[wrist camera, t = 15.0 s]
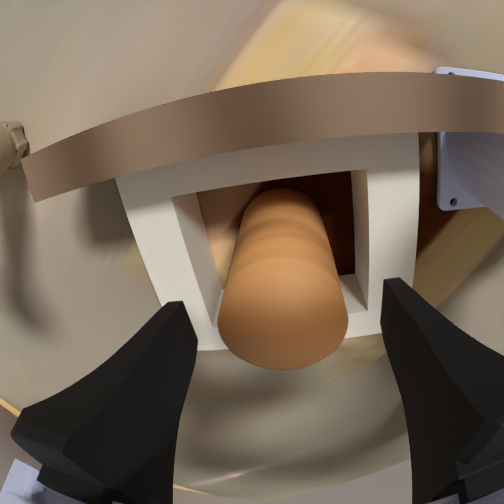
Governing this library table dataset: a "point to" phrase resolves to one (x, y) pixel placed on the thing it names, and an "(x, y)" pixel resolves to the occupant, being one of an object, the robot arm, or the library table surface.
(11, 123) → the handle
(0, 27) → the library table surface
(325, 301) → the dowel
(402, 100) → the wall
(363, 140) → the socket block
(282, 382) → the library table surface
